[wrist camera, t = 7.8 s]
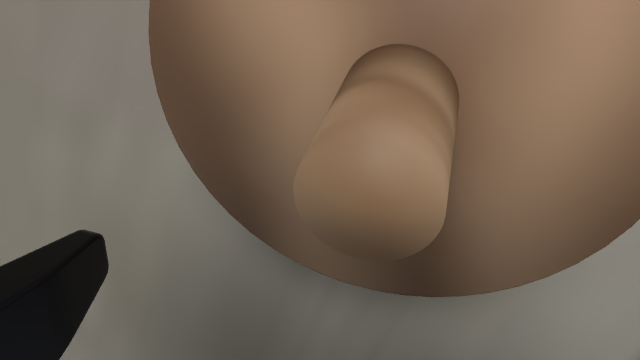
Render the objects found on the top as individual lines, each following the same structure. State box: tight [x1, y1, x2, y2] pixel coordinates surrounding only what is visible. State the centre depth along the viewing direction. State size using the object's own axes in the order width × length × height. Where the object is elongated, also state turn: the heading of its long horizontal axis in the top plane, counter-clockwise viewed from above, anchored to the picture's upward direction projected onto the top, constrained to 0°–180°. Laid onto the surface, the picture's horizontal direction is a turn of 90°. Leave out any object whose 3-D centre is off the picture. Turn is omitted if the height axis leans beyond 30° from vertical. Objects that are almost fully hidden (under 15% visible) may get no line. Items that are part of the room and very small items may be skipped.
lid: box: [149, 0, 640, 297], centre depth 13 cm, size 14×14×5 cm
